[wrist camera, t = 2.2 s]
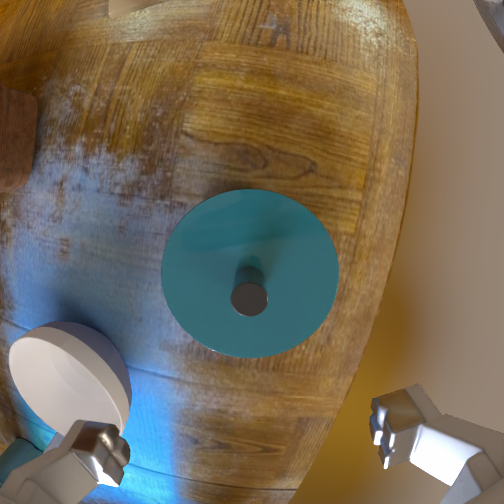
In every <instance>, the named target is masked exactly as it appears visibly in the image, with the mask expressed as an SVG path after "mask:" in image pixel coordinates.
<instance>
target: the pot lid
mask: <svg viewBox="0 0 504 504" xmlns="http://www.w3.org/2000/svg"><path fill="white" fill-rule="evenodd" d="M161 278H162V287H163V292H164V296H165V299H166V301H167V304H168V307H169V308H170V310H171V312H172V314H173V316H174V317H175V319H176V320H177V322H178V323H179V325H180V326H181V327H182V328H183V329H184V330H185V331H186V332H187V333H188V334H189V335H190V336H191V337H192V338H194V339H195V340H196V341H198V342H199V343H201V344H202V345H204V346H206V347H208V348H210V349H212V350H214V351H217V352H219V353H222V354H226V355H229V356H234V357H242V358H259V357H267V356H271V355H276V354H279V353H282V352H284V351H287V350H289V349H291V348H293V347H295V346H297V345H298V344H300V343H301V342H303V341H304V340H306V339H307V338H308V337H309V336H311V335H312V334H313V333H314V332H315V331H316V330H317V329H318V328H319V327H320V325H321V324H322V323H323V321H324V320H325V318H326V317H327V315H328V313H329V312H330V310H331V308H332V305H333V303H334V300H335V297H336V293H337V289H338V282H339V264H338V258H337V253H336V250H335V247H334V244H333V242H332V240H331V238H330V235H329V233H328V232H327V230H326V229H325V227H324V226H323V224H322V223H321V222H320V221H319V220H318V218H317V217H316V216H315V215H314V214H313V213H312V212H310V211H309V210H308V209H307V208H306V207H305V206H303V205H301V204H300V203H298V202H297V201H295V200H293V199H291V198H289V197H287V196H285V195H282V194H279V193H276V192H272V191H268V190H262V189H238V190H232V191H228V192H224V193H220V194H218V195H215V196H213V197H211V198H208V199H207V200H205V201H203V202H201V203H200V204H198V205H197V206H196V207H194V208H193V209H192V210H190V211H189V212H188V213H187V214H186V215H185V216H184V217H183V218H182V219H181V220H180V222H179V223H178V224H177V226H176V227H175V229H174V230H173V232H172V234H171V236H170V238H169V240H168V242H167V245H166V247H165V250H164V254H163V259H162V268H161Z"/></svg>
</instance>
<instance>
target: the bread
mask: <svg viewBox="0 0 504 504" xmlns="http://www.w3.org/2000/svg"><path fill="white" fill-rule="evenodd" d="M37 116H38V102H37V98H36V97H34V96H32V95H30V94H27V93H24V92H21V91H18V90H14V89H11V88H6V87H5V86H4V85H3V84H2V83H1V82H0V193H2V192H7V191H12V190H15V189H17V188H19V187H21V186H23V185H25V184H26V182H27V180H28V177H29V175H30V173H31V168H32V160H33V153H34V146H35V140H36V128H37Z"/></svg>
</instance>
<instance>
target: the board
mask: <svg viewBox="0 0 504 504" xmlns="http://www.w3.org/2000/svg"><path fill="white" fill-rule="evenodd" d="M164 1H167V0H109V6H108V15H109V16H110V17H111V18H112V19H115V18H118V17H120V16H123V15H126V14H128V13H131V12H134V11H136V10H139V9H142V8H145V7H148V6H151V5H154V4H157V3H161V2H164Z"/></svg>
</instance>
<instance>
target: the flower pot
mask: <svg viewBox="0 0 504 504" xmlns="http://www.w3.org/2000/svg"><path fill="white" fill-rule="evenodd" d="M42 454H43V452H42V451H40V450H37V449H36V448H35V447H34V446H33V444H31V443H29V442H28V441H26V440H24V439H21V438H17V439H16V440H15V441H14V442H13V443H12V444H11V445H10V446H9V447H8V448H7V449H6V450H5V451H4V453H3V454H2V455H1V456H0V488H1V487H2V485H3V484H4V482H5V481H6V479H7V477H8V476H9V474H10V473H11V471H12V470H14V469H16V468H18V467H20V466H22V465H24V464H25V463H27V462H29V461H31V460H33V459H35V458H37V457H38V456H40V455H42Z"/></svg>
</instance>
